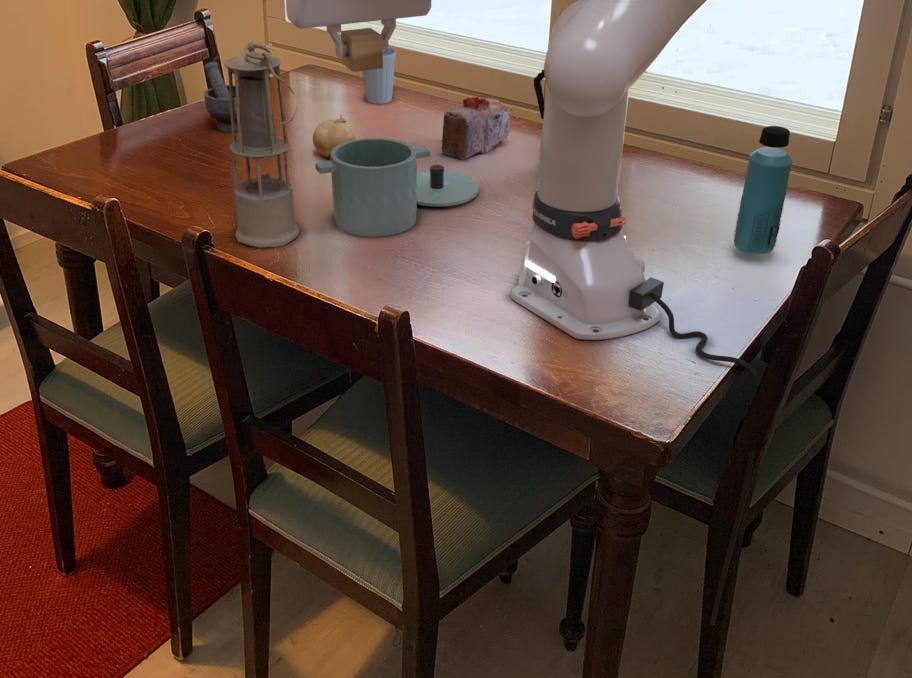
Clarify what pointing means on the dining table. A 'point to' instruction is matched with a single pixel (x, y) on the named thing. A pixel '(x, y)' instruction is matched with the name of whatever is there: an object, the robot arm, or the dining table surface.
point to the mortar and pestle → (220, 99)
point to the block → (363, 49)
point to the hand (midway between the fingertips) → (362, 54)
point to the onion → (331, 135)
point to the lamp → (260, 152)
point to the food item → (474, 127)
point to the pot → (374, 185)
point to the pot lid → (444, 187)
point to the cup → (380, 80)
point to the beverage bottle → (764, 193)
